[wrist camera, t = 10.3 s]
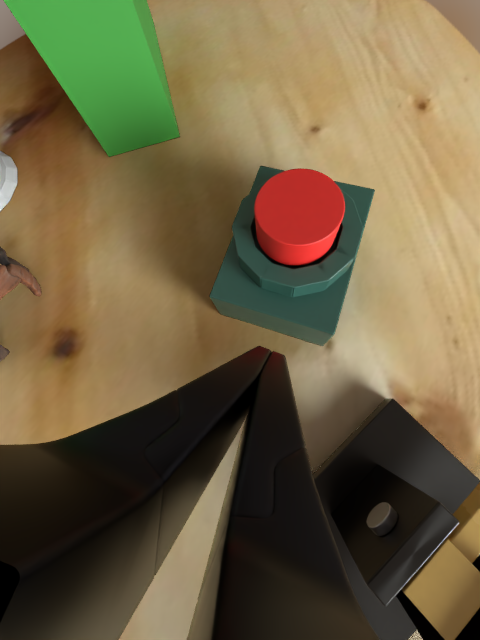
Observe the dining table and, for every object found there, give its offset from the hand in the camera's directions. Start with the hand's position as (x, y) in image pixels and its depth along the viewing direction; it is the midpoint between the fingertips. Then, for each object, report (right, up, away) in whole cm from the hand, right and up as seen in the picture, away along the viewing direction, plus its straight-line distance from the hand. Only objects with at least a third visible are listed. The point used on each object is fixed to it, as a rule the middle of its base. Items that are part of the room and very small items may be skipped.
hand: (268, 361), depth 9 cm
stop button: (+3, +7, +10) cm, 12 cm away
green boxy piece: (+3, +6, +15) cm, 17 cm away
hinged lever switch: (+8, -12, +10) cm, 17 cm away
